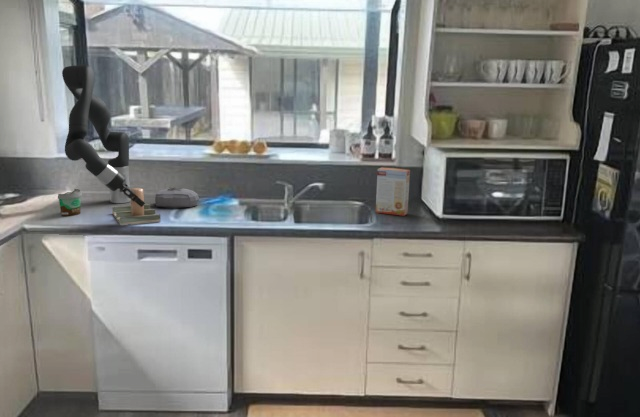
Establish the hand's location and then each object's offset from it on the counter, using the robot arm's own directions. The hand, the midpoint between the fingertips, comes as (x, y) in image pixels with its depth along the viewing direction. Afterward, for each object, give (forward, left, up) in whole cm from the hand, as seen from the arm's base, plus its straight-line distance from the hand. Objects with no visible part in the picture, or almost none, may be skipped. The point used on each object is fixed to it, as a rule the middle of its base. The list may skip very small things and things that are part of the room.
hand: (141, 203), depth 239 cm
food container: (-21, -25, -7) cm, 33 cm away
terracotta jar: (0, -2, -5) cm, 5 cm away
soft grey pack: (-22, +21, -8) cm, 31 cm away
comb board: (-5, -2, -7) cm, 9 cm away
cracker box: (+30, +107, -7) cm, 111 cm away
